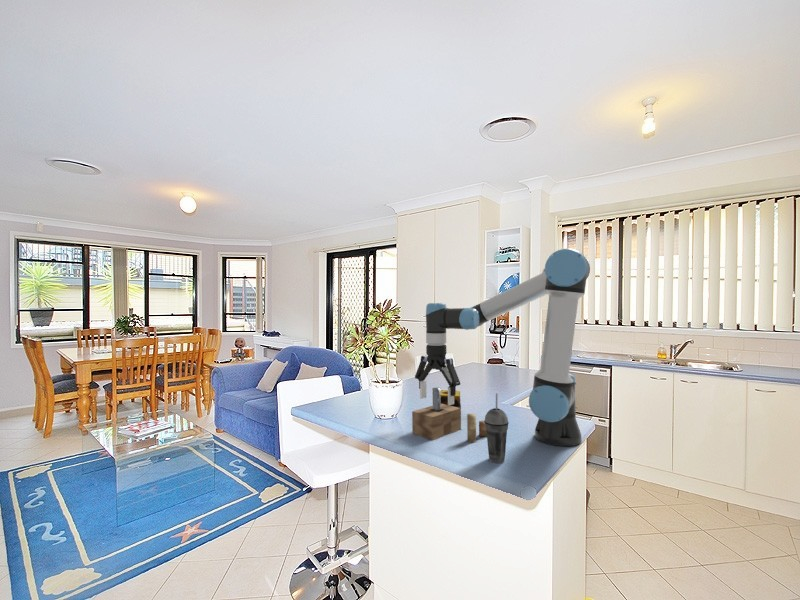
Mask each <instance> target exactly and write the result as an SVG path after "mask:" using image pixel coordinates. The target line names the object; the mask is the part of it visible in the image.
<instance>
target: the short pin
mask: <svg viewBox="0 0 800 600" xmlns="http://www.w3.org/2000/svg"><path fill="white" fill-rule="evenodd" d="M484 421H485V420H479V421H478V436H479V437H480V438H487V432H486V427H485V422H484Z"/></svg>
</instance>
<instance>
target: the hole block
mask: <svg viewBox="0 0 800 600" xmlns="http://www.w3.org/2000/svg"><path fill="white" fill-rule="evenodd" d="M411 413H412V414H411V415H412V417H411V419H412V425H411V426H412V432H411V433H412V434H414V435H416V436H420V437H423V438H426V439H429V440H431V441H434V440H438V439H439V438H442V437H445V436H447V435H450V434H452V433H456V432H458V431H460V430H462V407H461V408H458V407H454V406H450V405H445V404H441V411H440V412H435V411H433V405H429V406H427V407H423V408H419V409H416V410H413V411H412V412H411Z"/></svg>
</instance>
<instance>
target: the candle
mask: <svg viewBox="0 0 800 600" xmlns="http://www.w3.org/2000/svg"><path fill="white" fill-rule="evenodd" d="M441 404H445V405H448V389H447V390H444V389H443V390H442V389H441ZM450 406H454V407H458V408H461V409H462V404H461V390H456V394H455V396H454V404H452V405H450Z"/></svg>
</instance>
